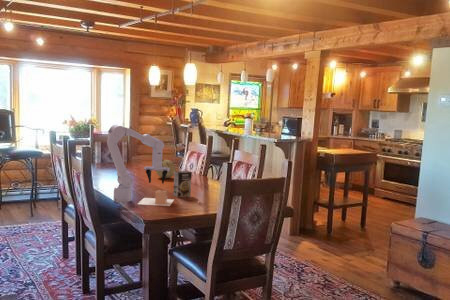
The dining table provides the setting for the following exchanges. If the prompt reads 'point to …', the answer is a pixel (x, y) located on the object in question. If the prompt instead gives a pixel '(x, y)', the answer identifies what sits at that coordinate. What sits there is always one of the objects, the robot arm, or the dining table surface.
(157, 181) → the dining table surface
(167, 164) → the cantaloupe
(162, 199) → the peach cube
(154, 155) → the robot arm
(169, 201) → the base plate
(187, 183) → the coffee box
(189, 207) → the dining table surface
